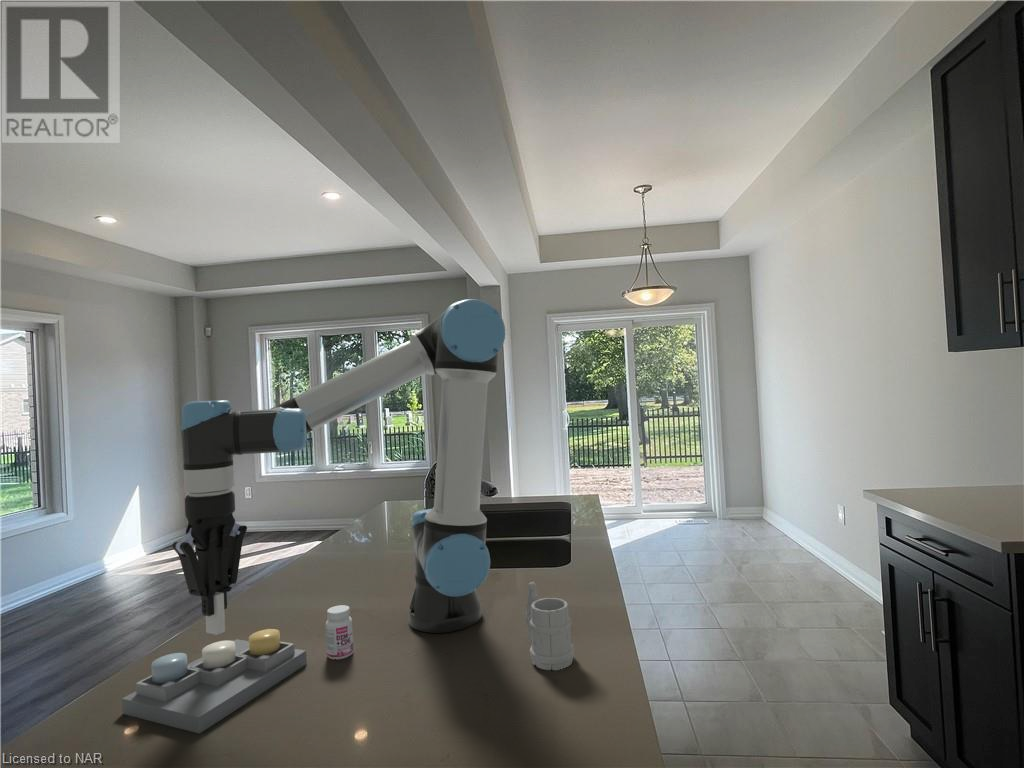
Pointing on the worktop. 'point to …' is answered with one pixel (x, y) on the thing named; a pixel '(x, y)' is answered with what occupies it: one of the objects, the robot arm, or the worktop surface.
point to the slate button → (169, 667)
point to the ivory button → (218, 654)
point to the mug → (549, 631)
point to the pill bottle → (339, 632)
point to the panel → (212, 688)
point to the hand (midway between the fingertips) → (215, 631)
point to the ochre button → (264, 642)
